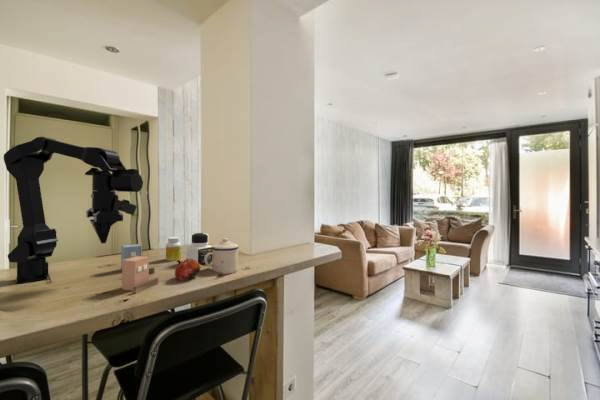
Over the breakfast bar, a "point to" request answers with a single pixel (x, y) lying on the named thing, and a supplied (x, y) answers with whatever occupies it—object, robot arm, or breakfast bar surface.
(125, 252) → the blue block
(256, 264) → the breakfast bar surface
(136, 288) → the plinth
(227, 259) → the teacup with lid
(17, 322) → the breakfast bar surface
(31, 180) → the robot arm
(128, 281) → the pink box
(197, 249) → the medicine bottle
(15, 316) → the breakfast bar surface
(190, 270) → the pomegranate
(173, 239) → the supplement bottle
